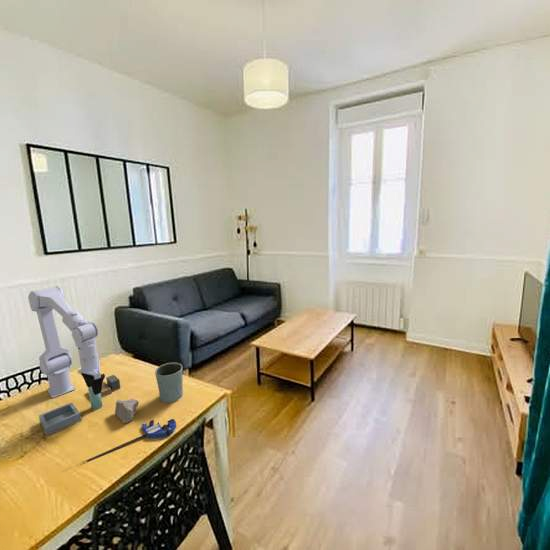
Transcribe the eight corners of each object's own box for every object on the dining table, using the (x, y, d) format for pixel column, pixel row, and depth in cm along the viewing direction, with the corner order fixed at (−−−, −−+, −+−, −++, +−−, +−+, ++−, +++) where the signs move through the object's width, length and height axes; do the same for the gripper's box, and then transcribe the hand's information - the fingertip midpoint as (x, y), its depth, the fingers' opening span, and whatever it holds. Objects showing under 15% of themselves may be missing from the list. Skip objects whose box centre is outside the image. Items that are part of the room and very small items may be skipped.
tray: (40, 422, 107) (38, 415, 107) (73, 409, 114) (71, 402, 114) (46, 435, 101) (45, 428, 100) (81, 420, 108) (79, 413, 107)
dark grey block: (107, 386, 129) (106, 377, 129) (115, 383, 132) (113, 374, 131) (112, 391, 125) (111, 382, 125) (120, 388, 128) (119, 379, 127)
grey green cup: (174, 386, 127) (172, 360, 125) (190, 394, 122) (187, 366, 119) (153, 398, 119) (149, 370, 117) (168, 407, 114) (165, 378, 111)
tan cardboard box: (89, 392, 126) (88, 387, 125) (105, 386, 130) (104, 381, 129) (95, 400, 120) (94, 395, 120) (111, 394, 124) (110, 388, 124)
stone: (144, 417, 109) (142, 402, 107) (119, 427, 104) (116, 411, 103) (138, 404, 116) (136, 390, 115) (114, 412, 112) (112, 398, 111)
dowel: (90, 407, 115) (86, 388, 114) (100, 402, 118) (97, 383, 116) (93, 411, 113) (90, 391, 111) (103, 406, 115) (100, 387, 114)
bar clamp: (169, 410, 108) (178, 425, 100) (170, 416, 109) (179, 432, 101) (60, 456, 90) (60, 479, 82) (61, 463, 91) (62, 486, 83)
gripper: (70, 354, 113) (76, 387, 116) (82, 366, 104) (88, 402, 106) (91, 348, 118) (96, 380, 121) (104, 358, 109) (110, 393, 111)
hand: (94, 389), depth 114 cm, fingers open, 7 cm apart
